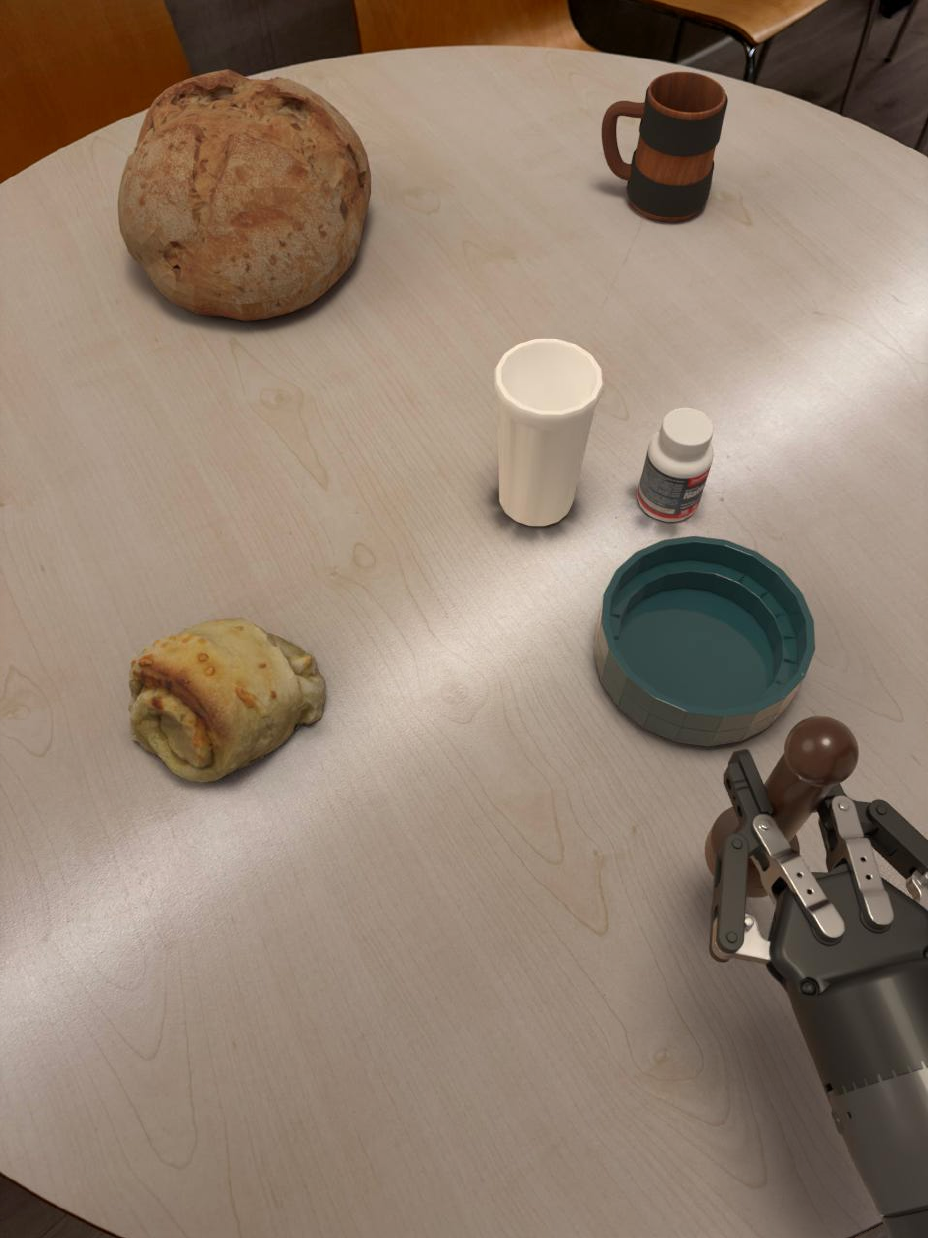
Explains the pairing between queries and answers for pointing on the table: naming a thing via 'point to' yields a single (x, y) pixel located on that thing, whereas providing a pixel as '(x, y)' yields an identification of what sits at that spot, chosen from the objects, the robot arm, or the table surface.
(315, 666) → the pastry
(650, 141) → the mug
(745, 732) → the bowl
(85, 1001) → the table surface
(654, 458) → the pill bottle
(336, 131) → the bread
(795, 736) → the pestle
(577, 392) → the cup
